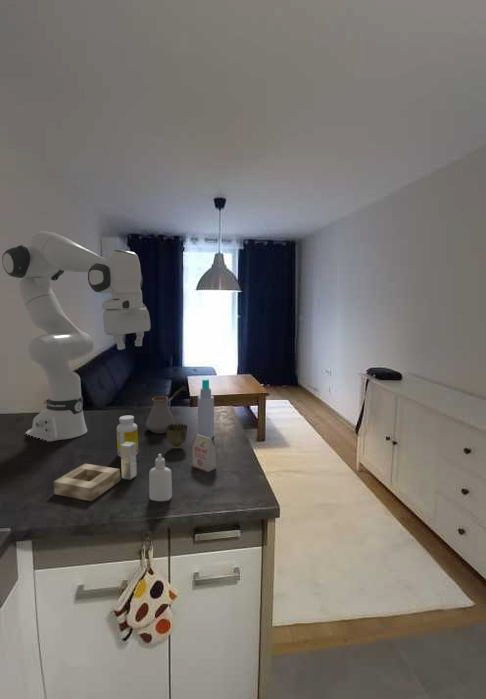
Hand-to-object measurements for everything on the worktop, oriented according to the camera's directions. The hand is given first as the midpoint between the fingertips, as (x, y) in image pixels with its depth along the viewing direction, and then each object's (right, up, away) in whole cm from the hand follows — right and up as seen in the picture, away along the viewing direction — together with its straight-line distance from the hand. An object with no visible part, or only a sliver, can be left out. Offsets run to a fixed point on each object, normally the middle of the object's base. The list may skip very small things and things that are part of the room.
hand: (130, 347), depth 121 cm
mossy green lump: (+12, -35, +14) cm, 40 cm away
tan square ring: (-7, -39, -15) cm, 42 cm away
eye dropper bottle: (+14, -40, -20) cm, 47 cm away
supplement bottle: (-3, -36, +8) cm, 37 cm away
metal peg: (+2, -38, -8) cm, 39 cm away
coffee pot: (+5, -32, +37) cm, 49 cm away
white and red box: (+23, -37, -1) cm, 44 cm away
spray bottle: (+21, -34, +25) cm, 47 cm away
